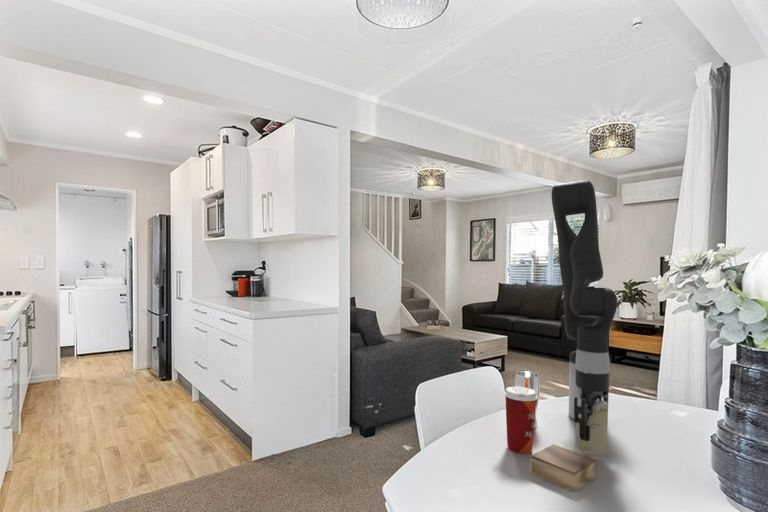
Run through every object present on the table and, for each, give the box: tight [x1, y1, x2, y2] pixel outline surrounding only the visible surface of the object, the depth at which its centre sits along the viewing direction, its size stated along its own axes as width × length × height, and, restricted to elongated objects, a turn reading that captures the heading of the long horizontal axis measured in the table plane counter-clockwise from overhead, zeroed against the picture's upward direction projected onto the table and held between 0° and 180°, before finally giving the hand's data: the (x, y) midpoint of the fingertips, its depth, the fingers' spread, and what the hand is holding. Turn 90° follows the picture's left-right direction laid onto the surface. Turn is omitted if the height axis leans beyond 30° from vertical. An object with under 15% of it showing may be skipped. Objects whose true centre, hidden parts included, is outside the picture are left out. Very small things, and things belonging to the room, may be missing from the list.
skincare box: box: [575, 397, 609, 455], centre depth 105 cm, size 6×4×12 cm
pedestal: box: [530, 443, 597, 493], centre depth 96 cm, size 10×10×4 cm
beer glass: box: [514, 370, 541, 429], centre depth 126 cm, size 7×7×15 cm
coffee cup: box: [503, 386, 538, 455], centre depth 110 cm, size 8×8×15 cm
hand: (591, 435), depth 105 cm, fingers closed on skincare box, 7 cm apart
